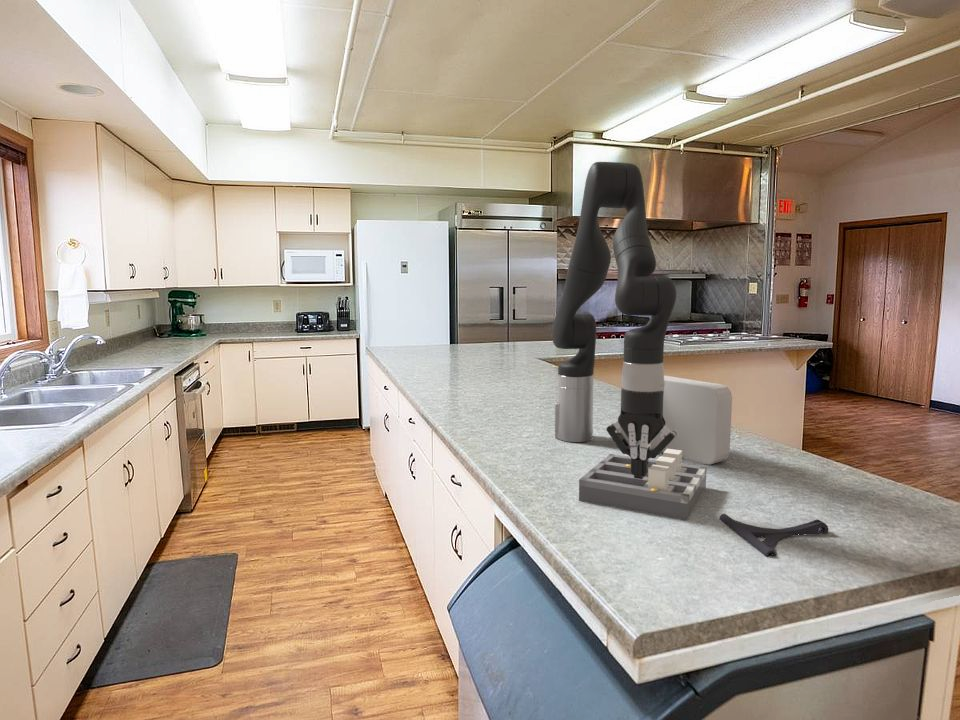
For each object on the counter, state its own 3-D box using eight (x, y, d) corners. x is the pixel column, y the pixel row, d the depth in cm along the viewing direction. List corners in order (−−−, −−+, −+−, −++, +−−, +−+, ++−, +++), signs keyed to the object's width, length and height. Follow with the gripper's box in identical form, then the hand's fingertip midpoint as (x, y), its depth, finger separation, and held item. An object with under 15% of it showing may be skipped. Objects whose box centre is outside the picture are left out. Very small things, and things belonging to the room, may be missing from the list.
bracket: (856, 555, 92) (858, 538, 92) (765, 561, 91) (766, 543, 90) (798, 519, 106) (799, 504, 106) (718, 523, 105) (719, 508, 105)
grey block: (735, 461, 138) (739, 385, 135) (715, 467, 134) (718, 388, 131) (639, 435, 161) (641, 370, 159) (620, 440, 157) (621, 372, 155)
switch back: (657, 472, 120) (658, 451, 120) (661, 468, 123) (662, 447, 122) (683, 476, 118) (684, 455, 117) (686, 471, 121) (687, 451, 120)
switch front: (642, 491, 110) (642, 468, 109) (646, 485, 113) (647, 463, 112) (670, 495, 107) (670, 472, 107) (674, 489, 110) (674, 467, 110)
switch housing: (578, 500, 114) (579, 478, 114) (609, 472, 131) (610, 453, 130) (687, 520, 104) (688, 496, 104) (705, 487, 121) (706, 466, 120)
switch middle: (650, 481, 115) (650, 459, 114) (654, 476, 118) (655, 455, 117) (676, 485, 112) (677, 463, 112) (680, 480, 115) (681, 458, 115)
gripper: (600, 386, 109) (598, 477, 111) (674, 392, 102) (671, 489, 105) (613, 380, 115) (611, 466, 118) (684, 386, 109) (680, 477, 111)
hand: (639, 477), depth 111 cm, fingers closed
